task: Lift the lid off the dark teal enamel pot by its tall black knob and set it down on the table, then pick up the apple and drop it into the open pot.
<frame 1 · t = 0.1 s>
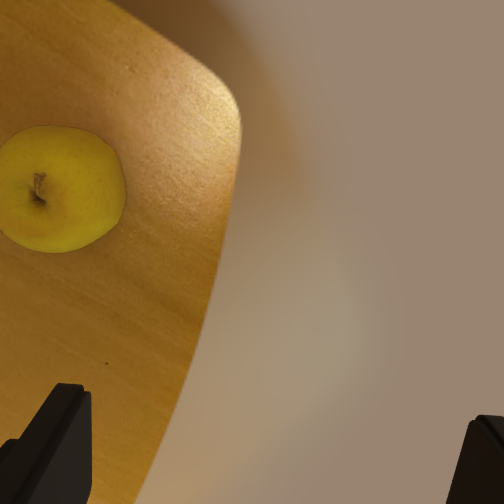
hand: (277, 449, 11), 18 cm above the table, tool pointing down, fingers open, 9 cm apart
apple: (88, 176, 27), on the table
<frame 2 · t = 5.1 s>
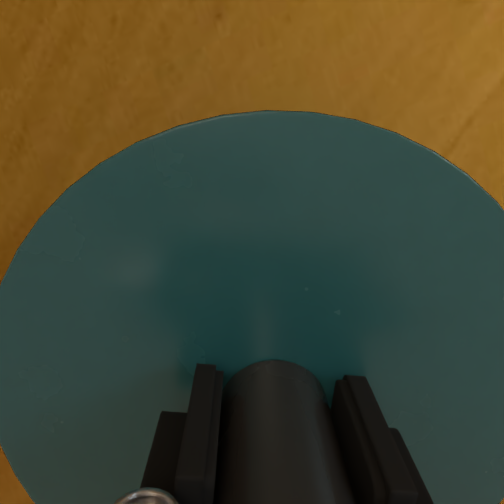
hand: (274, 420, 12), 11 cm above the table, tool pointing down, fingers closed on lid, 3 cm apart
lid: (271, 392, 13), point 10 cm above the table, touching gripper, pot
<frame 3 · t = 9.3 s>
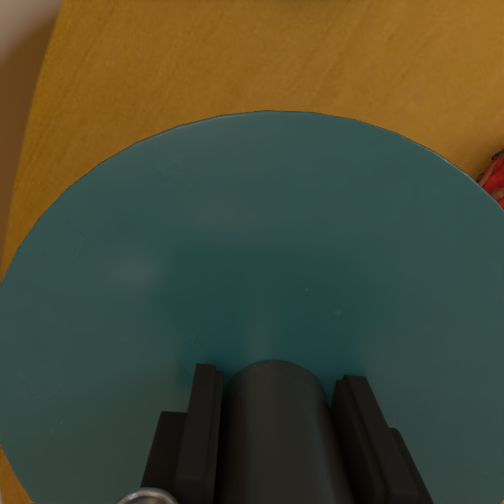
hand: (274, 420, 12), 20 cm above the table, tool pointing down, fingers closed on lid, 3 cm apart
lid: (272, 393, 13), point 19 cm above the table, touching gripper
when the fingers open (2 cm above the table, at t = 13.3 s): lid stays where it is, point 1 cm above the table.
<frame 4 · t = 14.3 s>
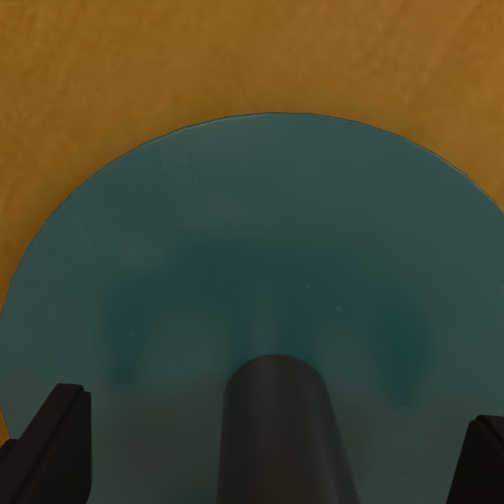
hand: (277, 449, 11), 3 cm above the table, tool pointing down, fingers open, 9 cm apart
lid: (274, 387, 14), point 1 cm above the table
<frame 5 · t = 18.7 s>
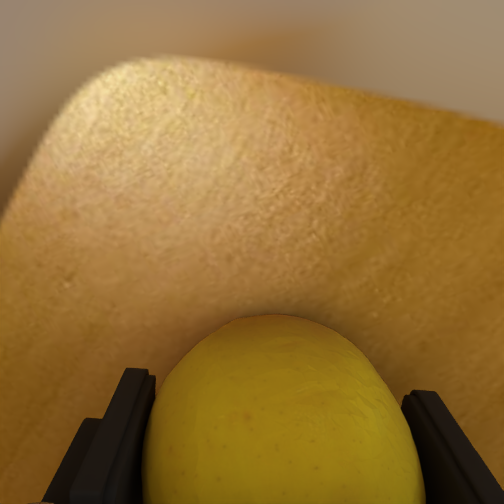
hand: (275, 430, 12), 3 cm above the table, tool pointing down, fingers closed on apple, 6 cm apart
apple: (267, 363, 15), on the table, touching gripper
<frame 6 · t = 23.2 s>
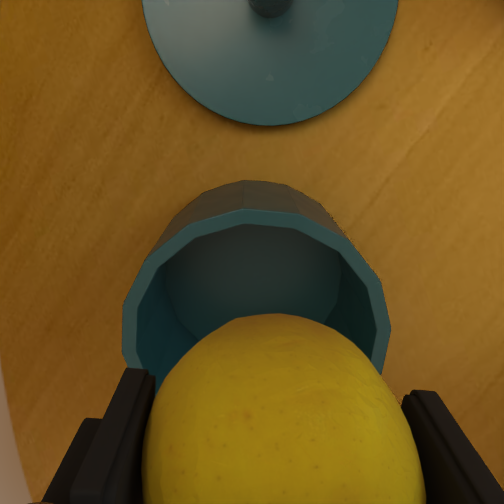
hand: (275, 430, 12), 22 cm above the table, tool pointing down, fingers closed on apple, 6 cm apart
apple: (267, 362, 15), point 19 cm above the table, touching gripper
pot: (253, 276, 34), on the table
when the fingers open (6 cm above the table, at t = 27.9 s): apple drops 2 cm, resting on pot.
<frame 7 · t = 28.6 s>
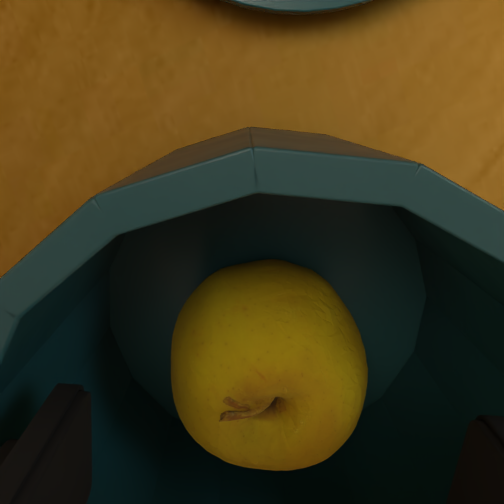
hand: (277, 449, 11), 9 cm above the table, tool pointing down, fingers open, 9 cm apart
apple: (261, 305, 19), resting on pot
pot: (266, 305, 19), on the table
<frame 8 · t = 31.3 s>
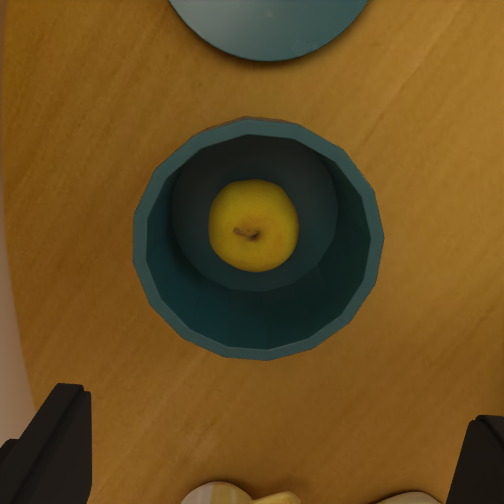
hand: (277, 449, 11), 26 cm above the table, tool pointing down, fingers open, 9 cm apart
apple: (251, 211, 36), resting on pot
mug: (235, 498, 45), on the table
pot: (254, 212, 36), on the table
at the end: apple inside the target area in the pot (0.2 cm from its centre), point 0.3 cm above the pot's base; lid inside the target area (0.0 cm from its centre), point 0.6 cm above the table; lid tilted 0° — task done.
